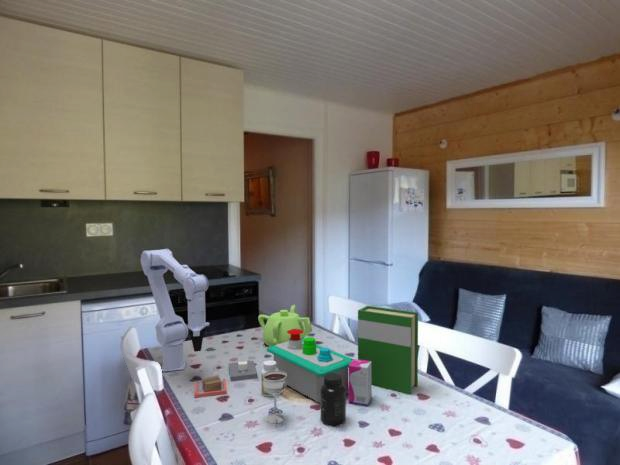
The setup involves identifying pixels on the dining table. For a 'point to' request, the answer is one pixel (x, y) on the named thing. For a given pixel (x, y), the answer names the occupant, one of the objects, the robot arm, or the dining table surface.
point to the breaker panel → (244, 374)
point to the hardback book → (389, 346)
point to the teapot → (283, 326)
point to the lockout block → (211, 384)
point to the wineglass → (274, 390)
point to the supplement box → (360, 382)
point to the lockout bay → (211, 391)
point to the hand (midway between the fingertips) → (197, 350)
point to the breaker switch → (242, 366)
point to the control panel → (308, 364)
